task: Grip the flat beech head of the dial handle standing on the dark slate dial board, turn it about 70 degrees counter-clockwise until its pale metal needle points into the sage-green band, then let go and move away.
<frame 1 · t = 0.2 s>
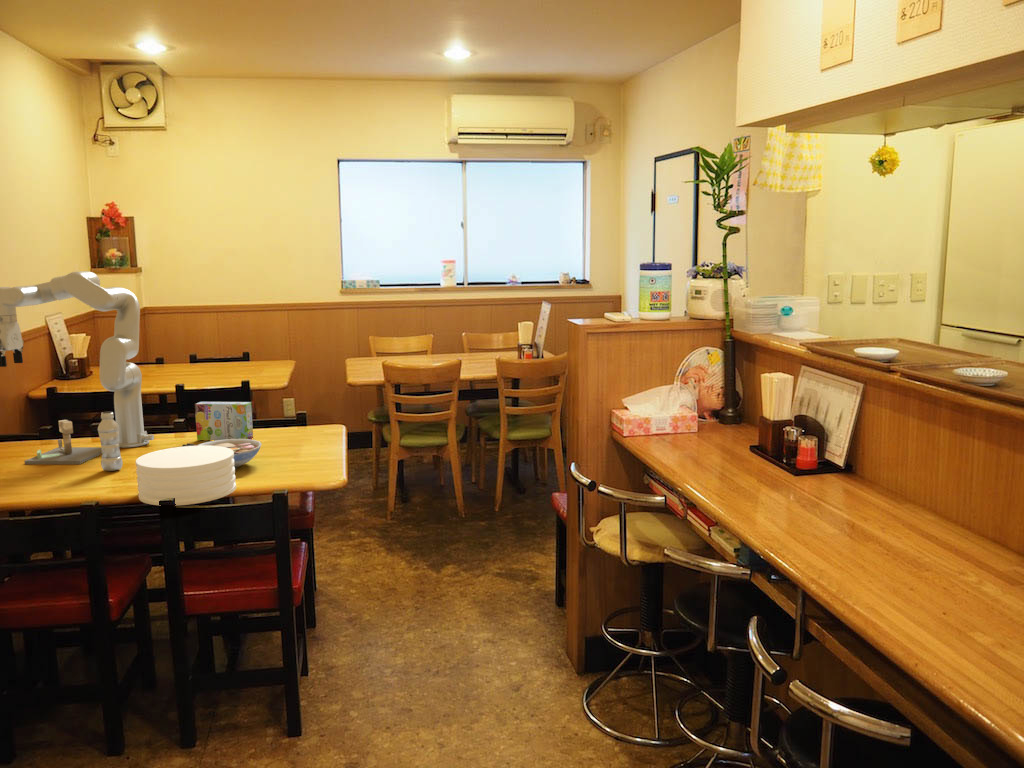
hand: (10, 364, 320), 31 cm above the table, tool pointing down, fingers open, 9 cm apart
plastic bottle: (112, 471, 284), on the table
dial handle: (64, 436, 304), point 7 cm above the table, hinge at 0.0°
dial board: (68, 457, 304), on the table
snack box: (225, 441, 328), on the table
plate stack: (188, 492, 259), on the table
ramen bowl: (228, 467, 287), on the table
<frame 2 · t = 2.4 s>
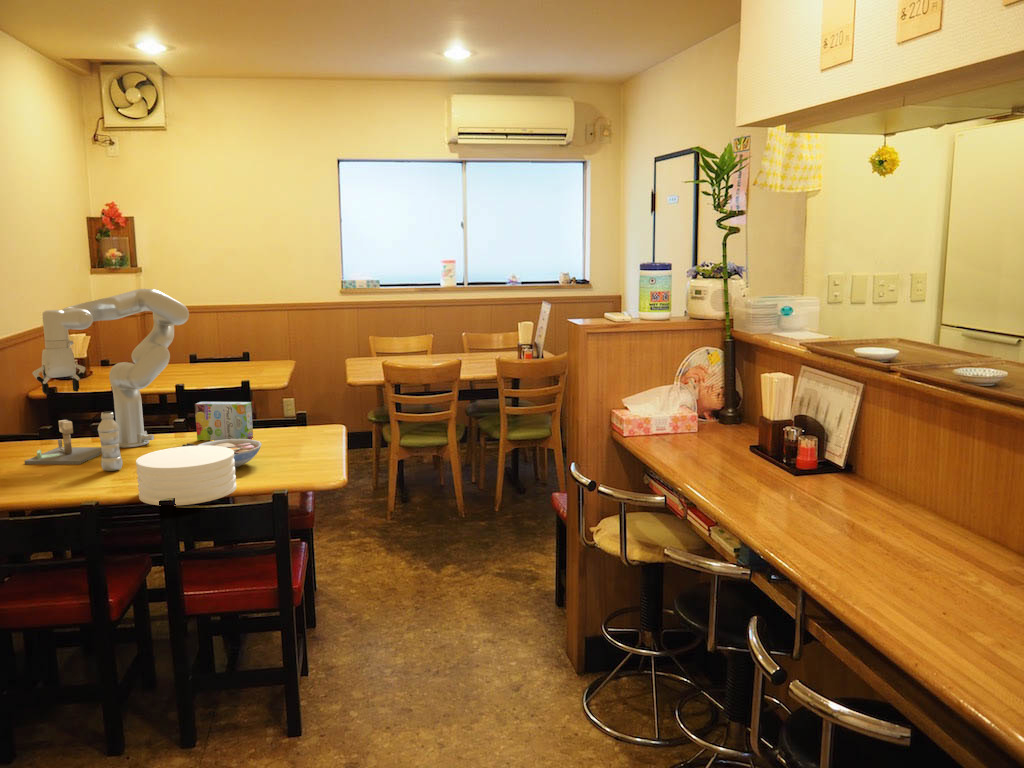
hand: (61, 392, 300), 24 cm above the table, tool pointing down, fingers open, 9 cm apart
nothing on the table moved.
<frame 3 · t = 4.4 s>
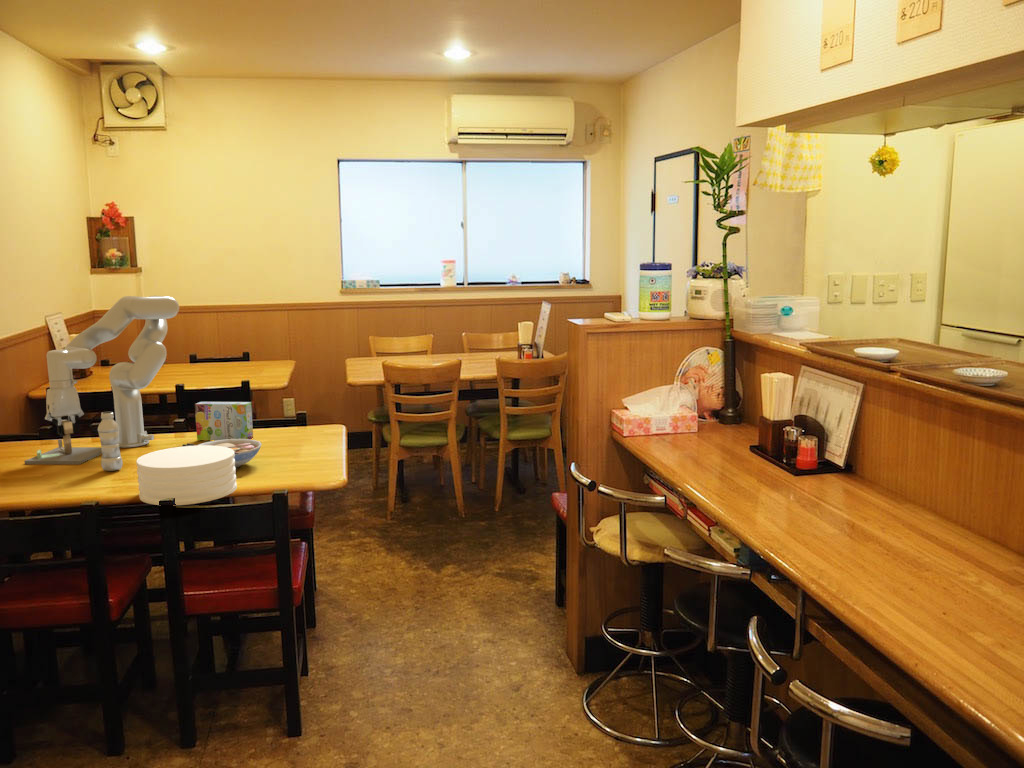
hand: (66, 434, 302), 8 cm above the table, tool pointing down, fingers closed on dial handle, 2 cm apart
dial handle: (64, 436, 304), point 7 cm above the table, hinge at 0.0°, touching gripper
everything else where it was.
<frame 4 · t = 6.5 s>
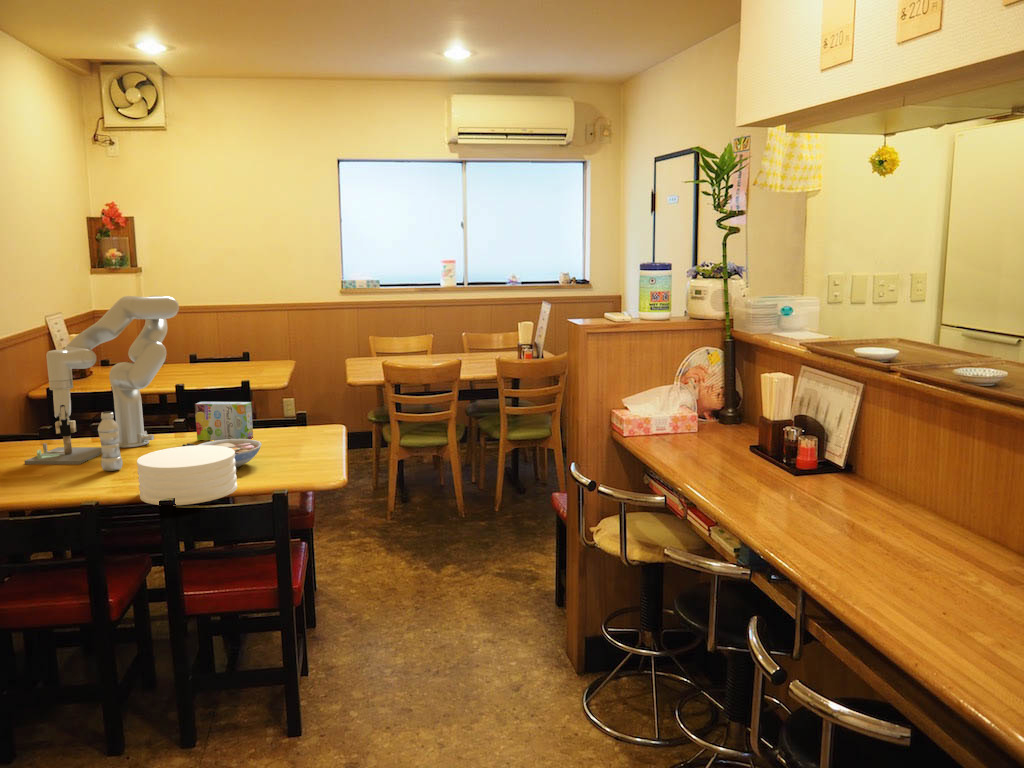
hand: (66, 434, 302), 8 cm above the table, tool pointing down, fingers closed on dial handle, 3 cm apart
dial handle: (59, 437, 302), point 7 cm above the table, hinge at 54.7°, touching gripper
everything else where it was.
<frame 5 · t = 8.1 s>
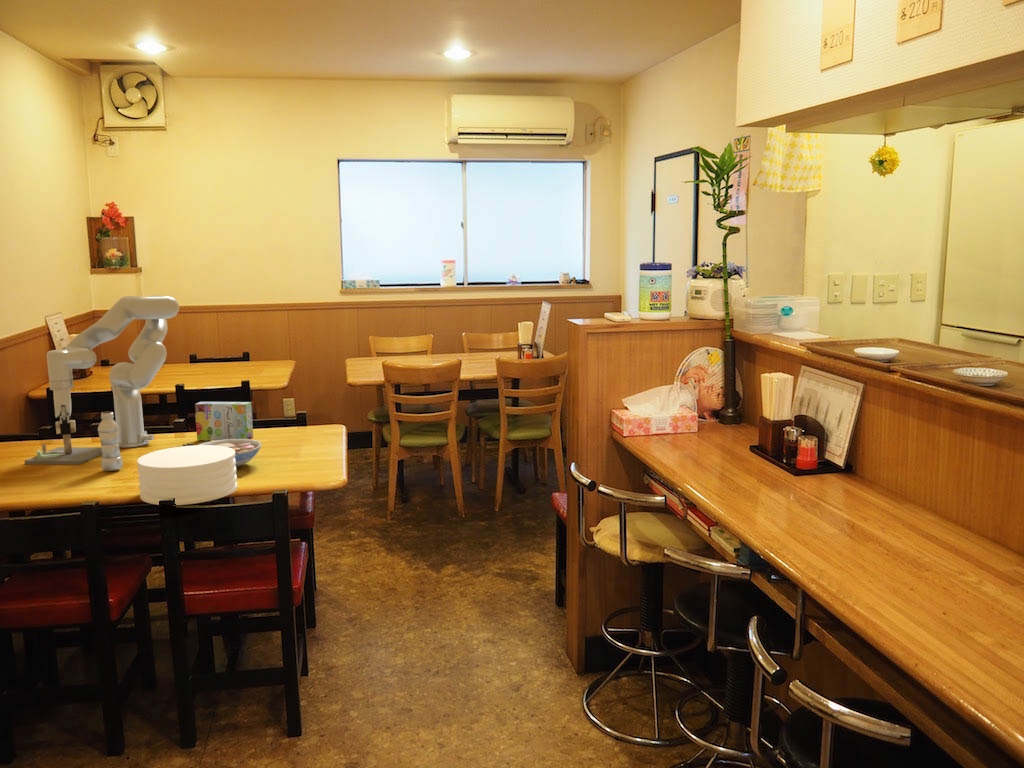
hand: (66, 431, 302), 9 cm above the table, tool pointing down, fingers open, 9 cm apart
dial handle: (59, 438, 302), point 7 cm above the table, hinge at 65.6°
everything else where it was.
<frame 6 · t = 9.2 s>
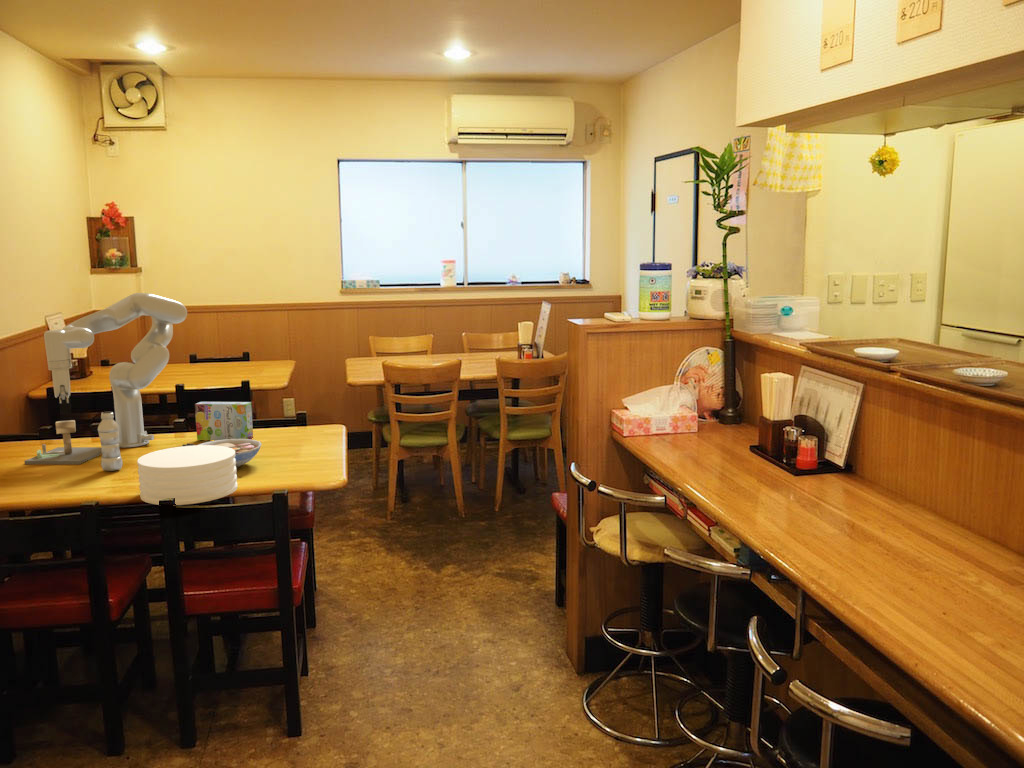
hand: (66, 411, 301), 17 cm above the table, tool pointing down, fingers open, 9 cm apart
dial handle: (59, 438, 302), point 7 cm above the table, hinge at 66.0°
everything else where it was.
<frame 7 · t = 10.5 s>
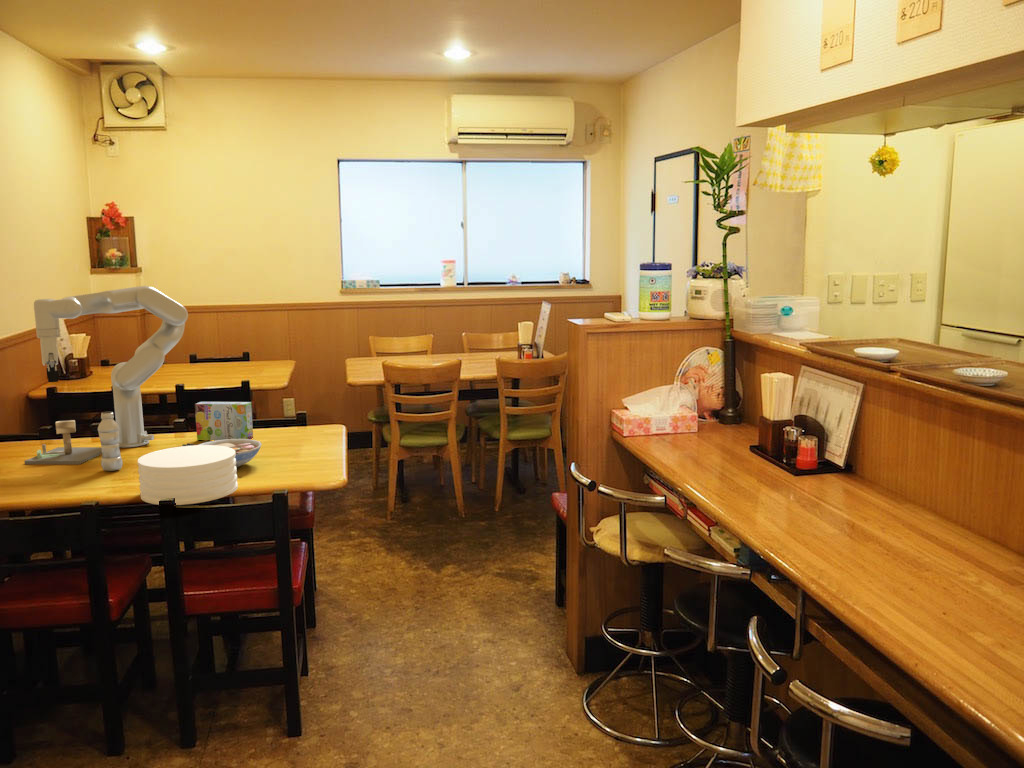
hand: (52, 380, 306), 27 cm above the table, tool pointing down, fingers open, 9 cm apart
nothing on the table moved.
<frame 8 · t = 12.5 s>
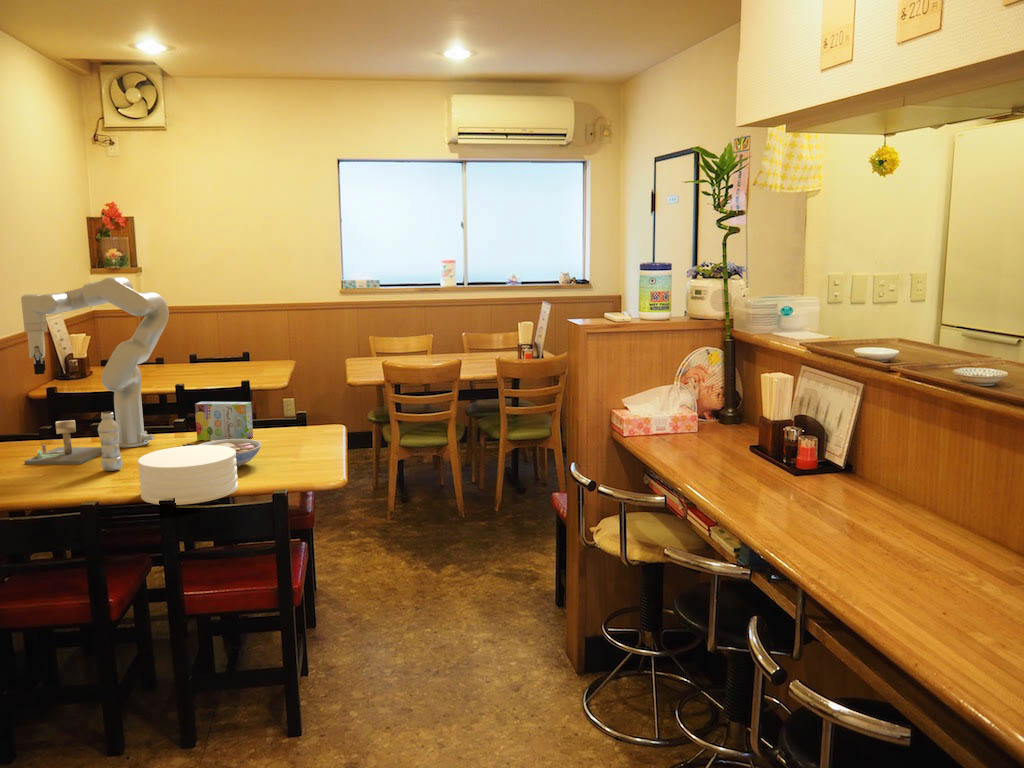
hand: (40, 372, 318), 28 cm above the table, tool pointing down, fingers open, 9 cm apart
nothing on the table moved.
at the end: dial handle at +66° (first picture: +0°); the gripper is holding nothing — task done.
